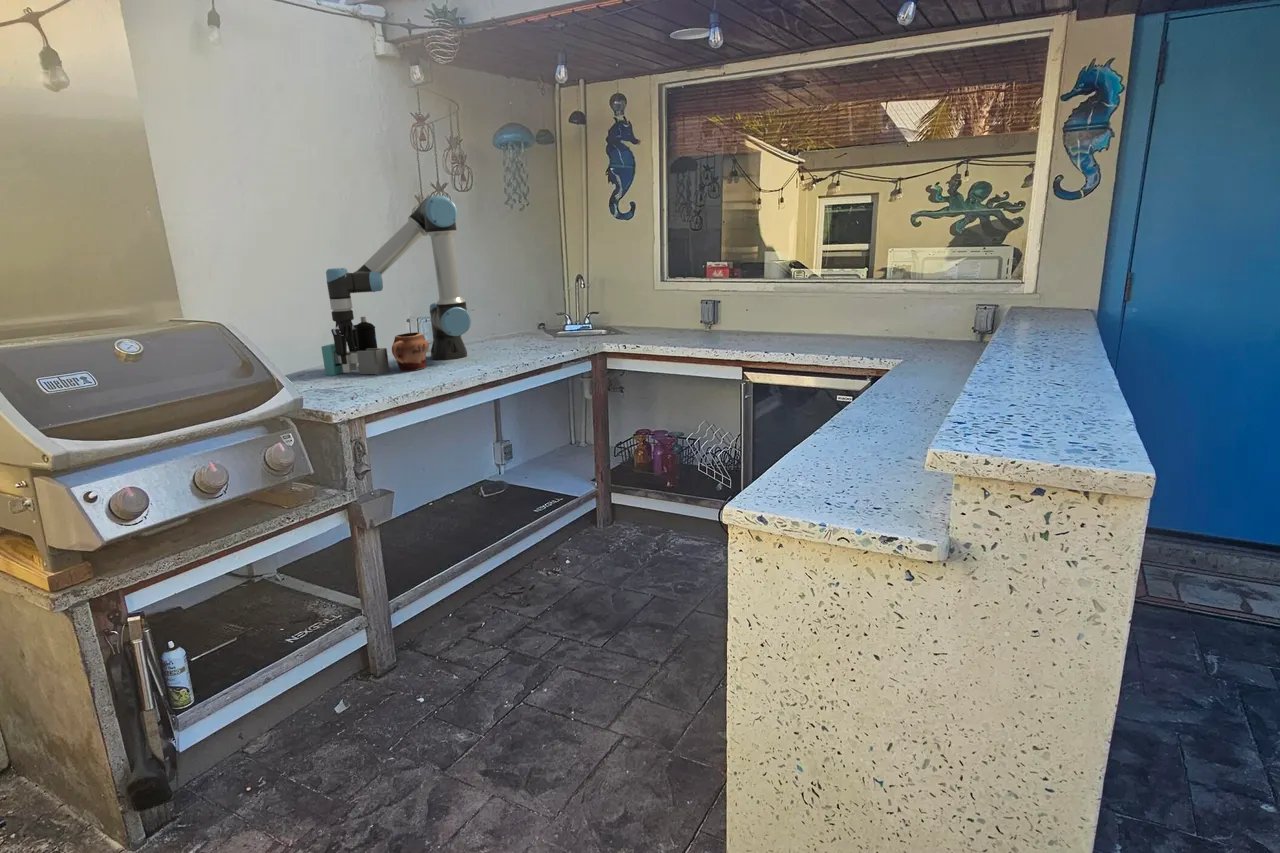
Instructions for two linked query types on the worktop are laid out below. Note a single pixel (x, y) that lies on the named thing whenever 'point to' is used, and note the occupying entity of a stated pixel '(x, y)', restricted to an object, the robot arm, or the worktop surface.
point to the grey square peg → (352, 357)
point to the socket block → (330, 360)
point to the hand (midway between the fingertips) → (350, 371)
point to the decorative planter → (410, 351)
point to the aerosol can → (366, 335)
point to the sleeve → (373, 361)
